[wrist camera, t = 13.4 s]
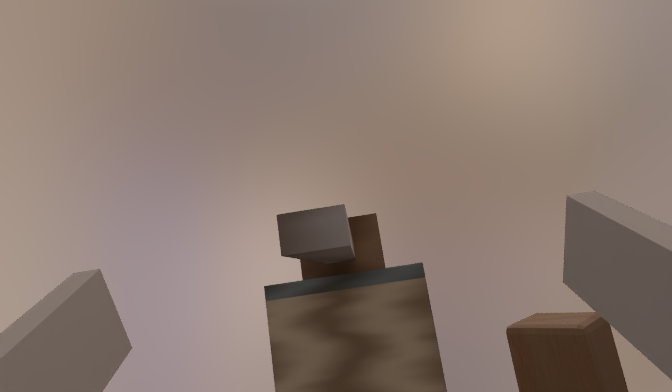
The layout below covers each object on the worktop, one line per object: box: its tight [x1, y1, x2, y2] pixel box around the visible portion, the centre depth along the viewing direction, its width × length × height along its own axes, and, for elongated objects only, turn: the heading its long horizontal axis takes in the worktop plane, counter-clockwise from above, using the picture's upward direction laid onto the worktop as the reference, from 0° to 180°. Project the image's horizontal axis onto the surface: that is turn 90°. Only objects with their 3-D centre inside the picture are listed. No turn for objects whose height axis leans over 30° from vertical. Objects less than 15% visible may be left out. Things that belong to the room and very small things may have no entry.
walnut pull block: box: [277, 204, 385, 280], centre depth 23 cm, size 6×24×5 cm, turn 176°
